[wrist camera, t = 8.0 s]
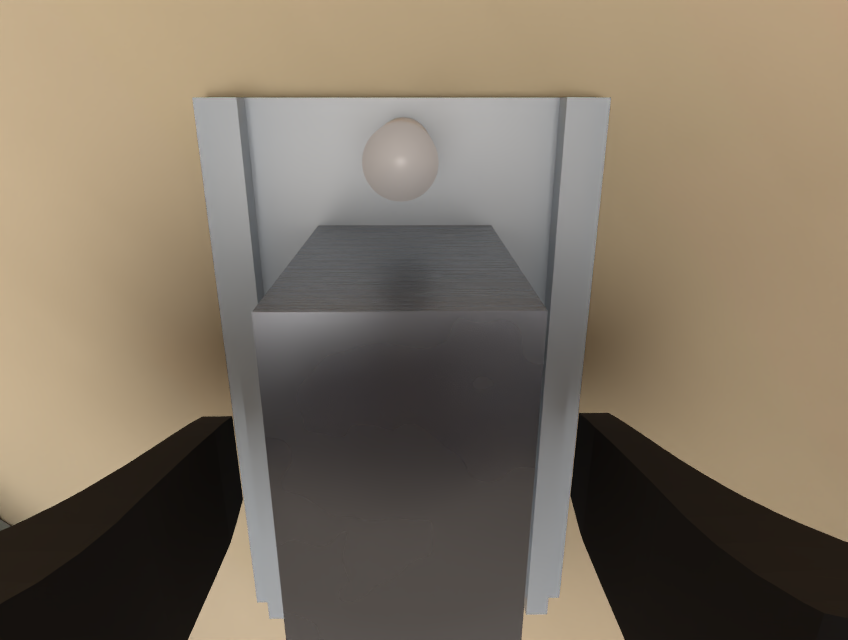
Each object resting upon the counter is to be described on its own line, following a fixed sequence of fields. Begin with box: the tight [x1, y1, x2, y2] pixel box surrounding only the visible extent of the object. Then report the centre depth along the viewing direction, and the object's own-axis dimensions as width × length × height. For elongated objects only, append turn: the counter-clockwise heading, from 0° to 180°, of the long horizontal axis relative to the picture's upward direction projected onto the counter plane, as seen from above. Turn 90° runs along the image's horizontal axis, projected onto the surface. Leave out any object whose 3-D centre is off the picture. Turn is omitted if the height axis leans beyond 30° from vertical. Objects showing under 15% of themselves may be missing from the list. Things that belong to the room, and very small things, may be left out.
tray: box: [192, 97, 611, 619], centre depth 13 cm, size 9×14×5 cm, turn 0°
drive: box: [252, 225, 548, 640], centre depth 12 cm, size 4×9×6 cm, turn 0°
